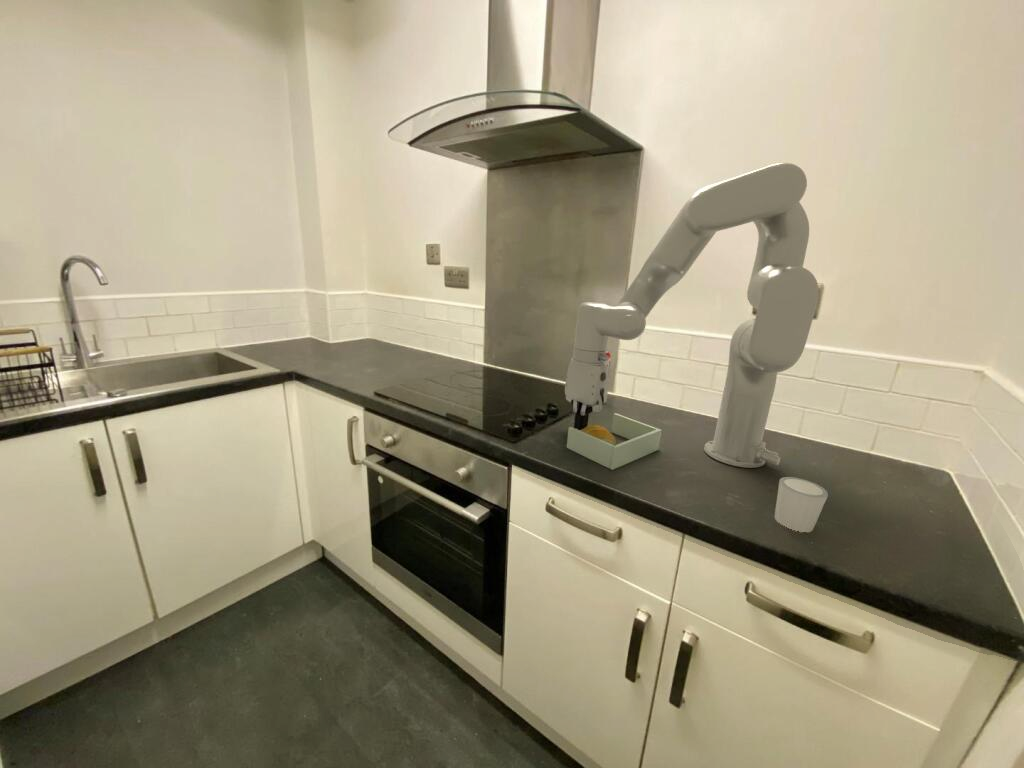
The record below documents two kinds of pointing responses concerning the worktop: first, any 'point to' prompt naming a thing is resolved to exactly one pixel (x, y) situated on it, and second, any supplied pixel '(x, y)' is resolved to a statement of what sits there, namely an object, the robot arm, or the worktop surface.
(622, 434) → the box
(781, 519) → the white cup
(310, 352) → the worktop surface
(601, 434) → the bread roll
